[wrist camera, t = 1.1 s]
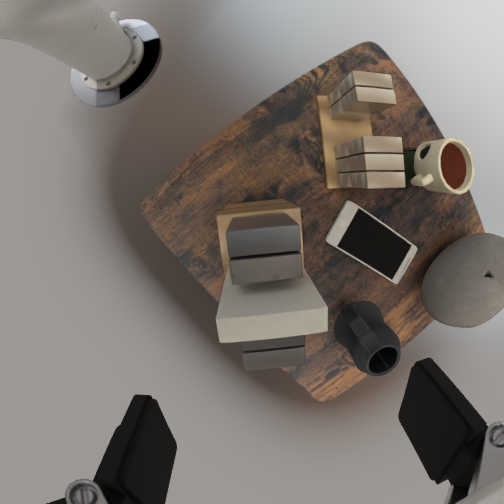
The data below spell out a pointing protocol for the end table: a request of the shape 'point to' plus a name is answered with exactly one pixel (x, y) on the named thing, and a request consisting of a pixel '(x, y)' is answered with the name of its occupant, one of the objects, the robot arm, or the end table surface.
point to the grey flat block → (270, 310)
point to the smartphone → (371, 242)
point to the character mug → (439, 166)
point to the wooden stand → (264, 266)
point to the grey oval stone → (466, 281)
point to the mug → (367, 338)
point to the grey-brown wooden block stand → (359, 134)
